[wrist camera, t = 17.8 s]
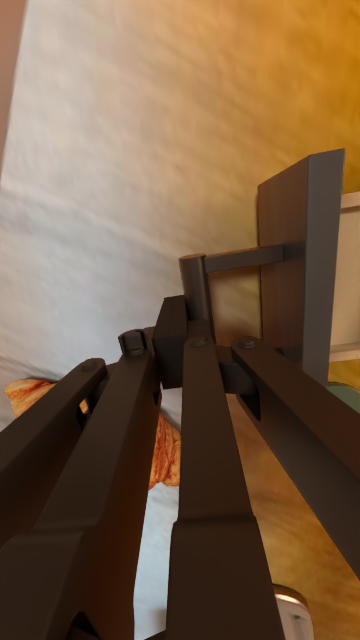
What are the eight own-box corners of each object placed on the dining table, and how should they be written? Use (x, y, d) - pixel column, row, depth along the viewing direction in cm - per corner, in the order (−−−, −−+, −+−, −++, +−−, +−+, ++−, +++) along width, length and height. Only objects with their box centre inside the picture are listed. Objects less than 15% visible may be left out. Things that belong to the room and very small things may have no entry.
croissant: (33, 377, 28) (-24, 449, 22) (27, 334, 20) (-60, 425, 15) (189, 447, 31) (171, 525, 25) (233, 431, 23) (221, 537, 18)
